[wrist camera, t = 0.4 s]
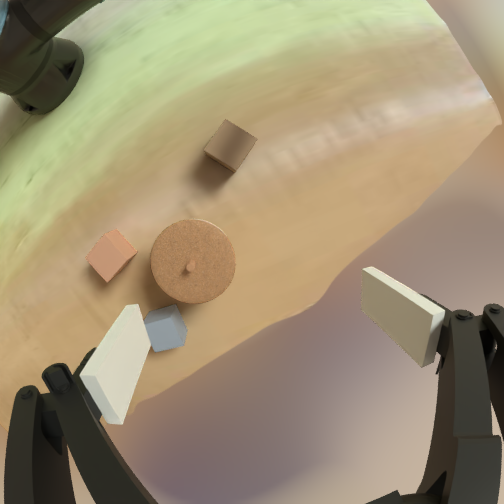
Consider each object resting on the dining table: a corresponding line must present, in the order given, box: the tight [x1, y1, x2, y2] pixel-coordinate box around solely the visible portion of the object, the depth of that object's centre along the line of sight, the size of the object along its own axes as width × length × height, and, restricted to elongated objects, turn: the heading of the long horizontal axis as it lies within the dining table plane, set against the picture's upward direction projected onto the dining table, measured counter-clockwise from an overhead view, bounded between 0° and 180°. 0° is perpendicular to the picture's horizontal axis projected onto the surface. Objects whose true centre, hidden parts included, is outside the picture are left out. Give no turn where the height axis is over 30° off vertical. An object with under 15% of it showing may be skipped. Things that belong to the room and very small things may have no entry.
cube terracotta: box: [85, 229, 137, 283], centre depth 37 cm, size 5×5×5 cm
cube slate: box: [144, 304, 187, 352], centre depth 40 cm, size 5×5×5 cm
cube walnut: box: [204, 119, 257, 173], centre depth 35 cm, size 5×5×5 cm
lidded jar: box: [150, 219, 236, 304], centre depth 36 cm, size 11×11×9 cm
